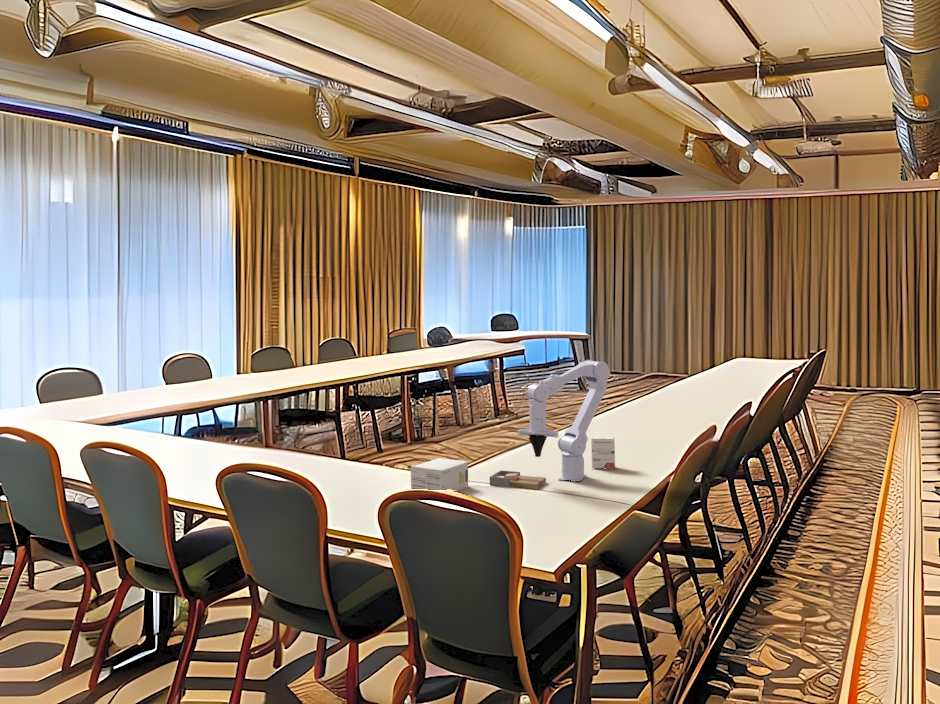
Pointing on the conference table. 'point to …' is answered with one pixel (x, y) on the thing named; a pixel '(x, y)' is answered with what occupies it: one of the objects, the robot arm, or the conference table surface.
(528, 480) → the walnut board
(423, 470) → the supplement box
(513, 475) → the terracotta tile
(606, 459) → the ink box
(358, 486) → the conference table surface
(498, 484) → the slate tray
